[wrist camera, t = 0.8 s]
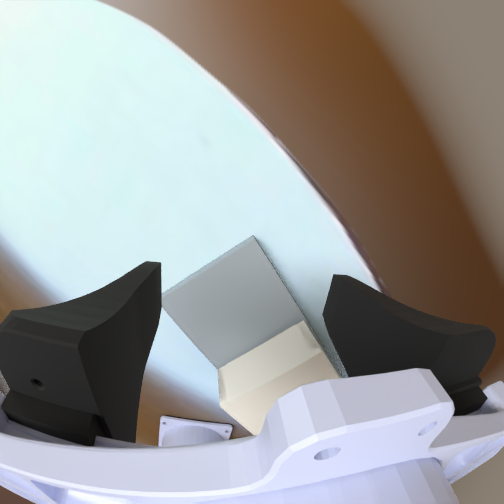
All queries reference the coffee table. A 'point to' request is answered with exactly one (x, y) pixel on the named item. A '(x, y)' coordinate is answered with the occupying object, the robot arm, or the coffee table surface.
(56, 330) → the robot arm
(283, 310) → the board
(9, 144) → the coffee table surface
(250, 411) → the block
